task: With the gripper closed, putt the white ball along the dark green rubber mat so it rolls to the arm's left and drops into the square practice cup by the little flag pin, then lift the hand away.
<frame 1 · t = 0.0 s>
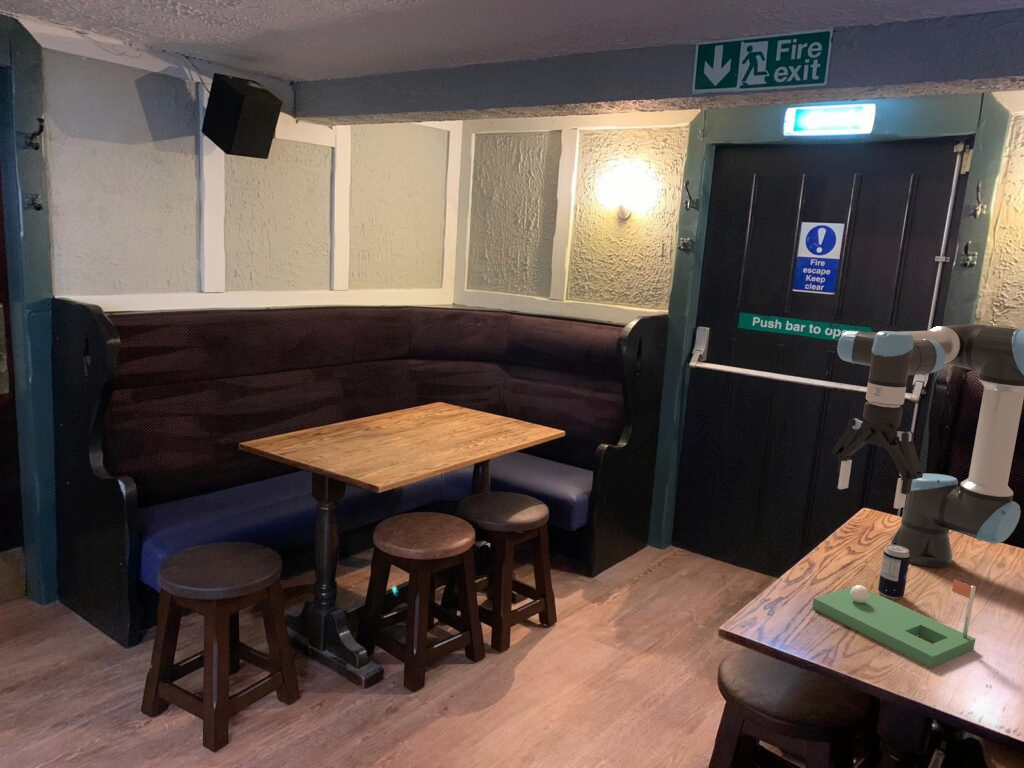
hand: (869, 497, 171), 28 cm above the table, fingers open, 13 cm apart
beverage can: (890, 595, 188), on the table
flag pin: (962, 647, 164), resting on putting mat
putting mat: (889, 628, 171), on the table
ball: (858, 602, 177), point 2 cm above the table, touching putting mat
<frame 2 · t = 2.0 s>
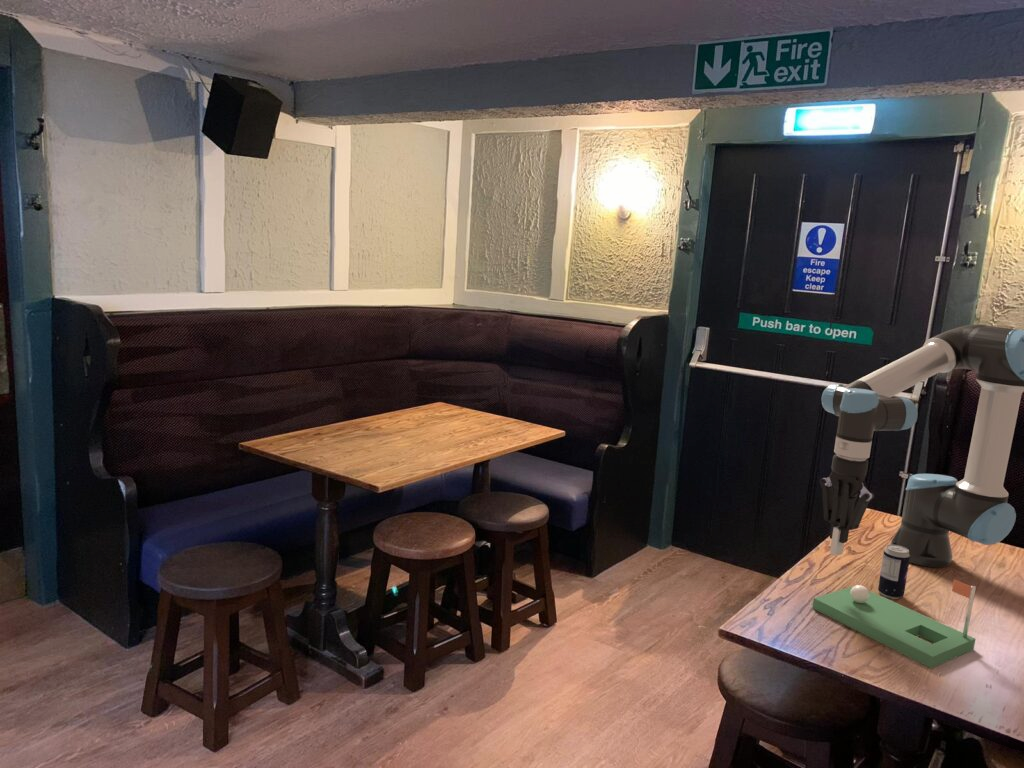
hand: (835, 553, 181), 12 cm above the table, fingers closed
nothing on the table moved.
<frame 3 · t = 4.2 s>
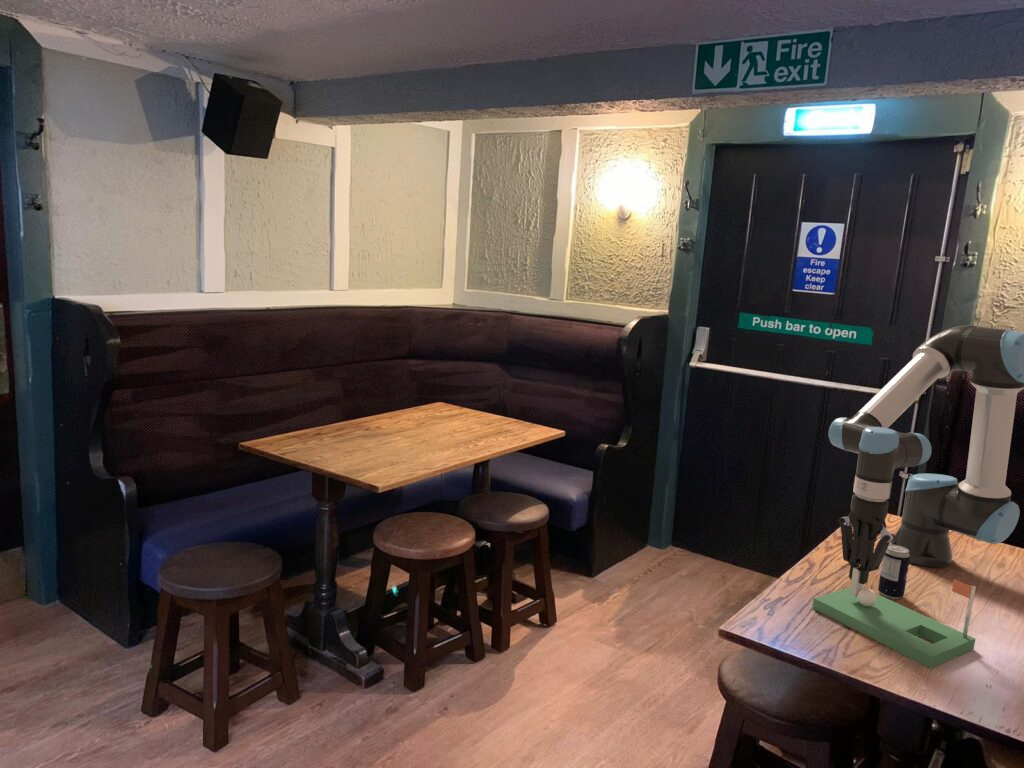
hand: (855, 594, 178), 4 cm above the table, fingers closed
ball: (860, 599, 177), point 3 cm above the table, tilted 52°, touching gripper, putting mat
everything else where it was.
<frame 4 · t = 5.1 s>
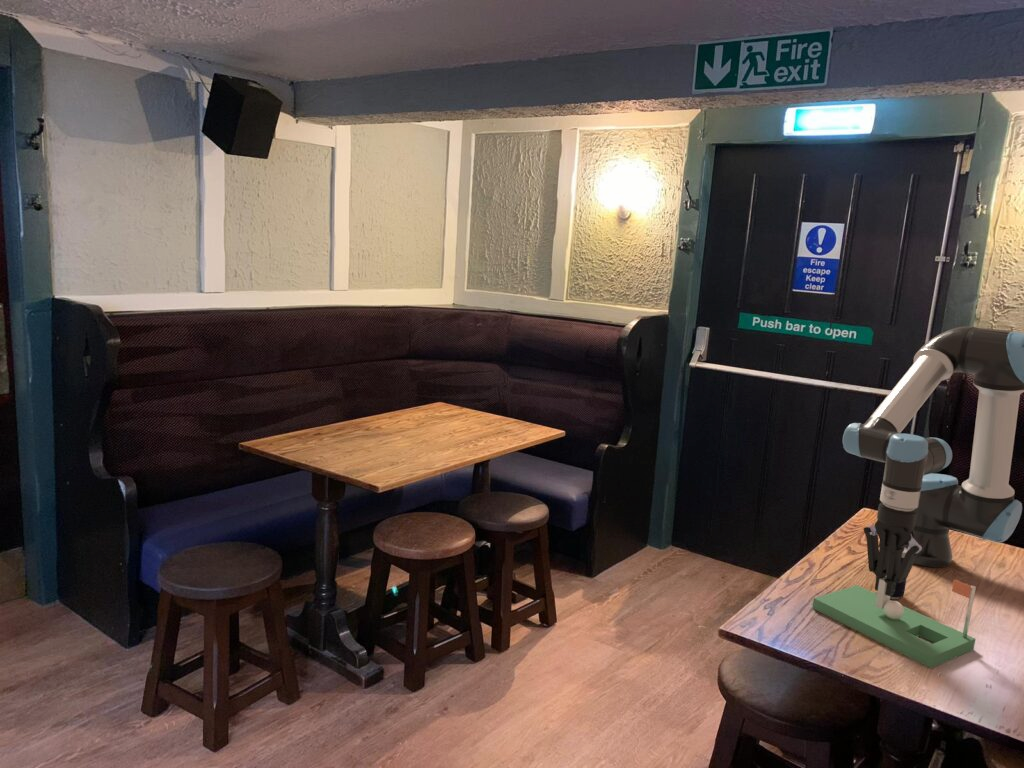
hand: (881, 606, 172), 4 cm above the table, fingers closed
ball: (899, 604, 169), point 6 cm above the table, tilted 148°, touching gripper, putting mat
everything else where it was.
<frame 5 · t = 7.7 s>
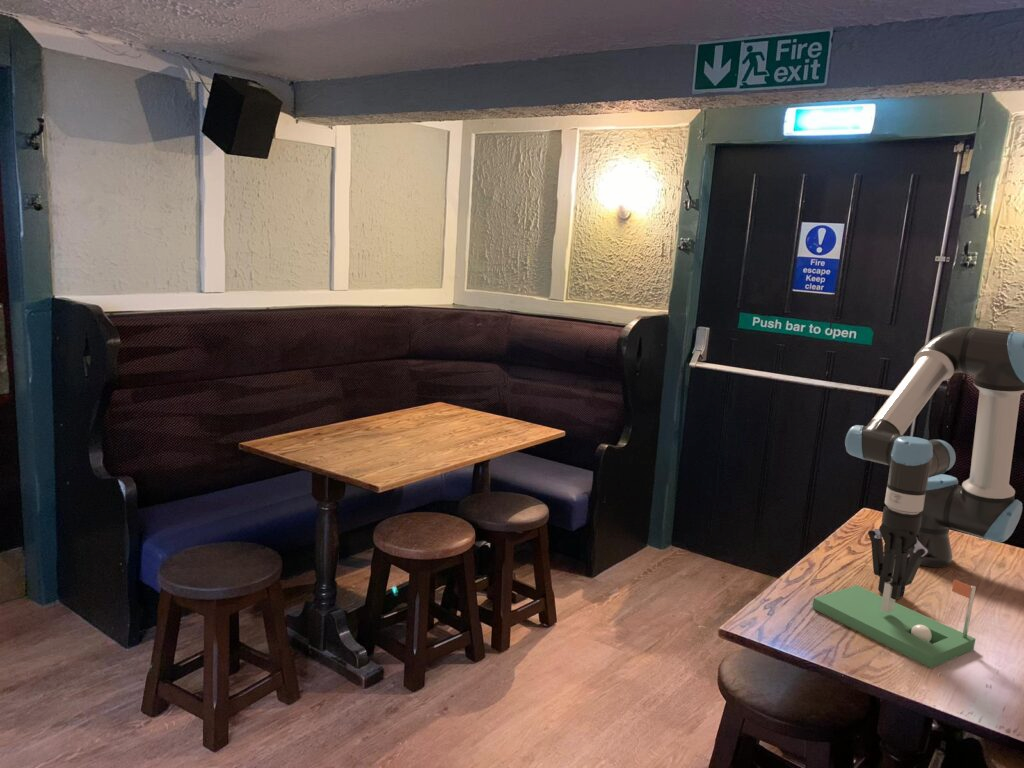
hand: (887, 609, 172), 4 cm above the table, fingers closed
ball: (912, 635, 167), point 1 cm above the table, tilted 58°
everything else where it was.
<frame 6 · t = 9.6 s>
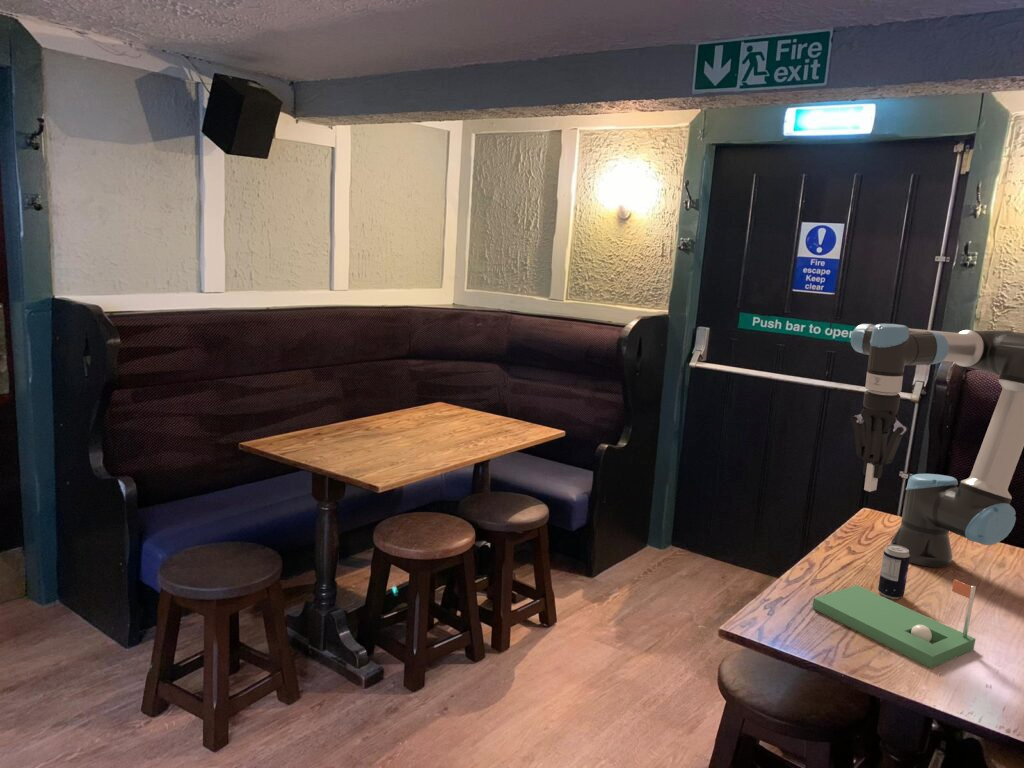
hand: (870, 489, 183), 26 cm above the table, fingers closed
nothing on the table moved.
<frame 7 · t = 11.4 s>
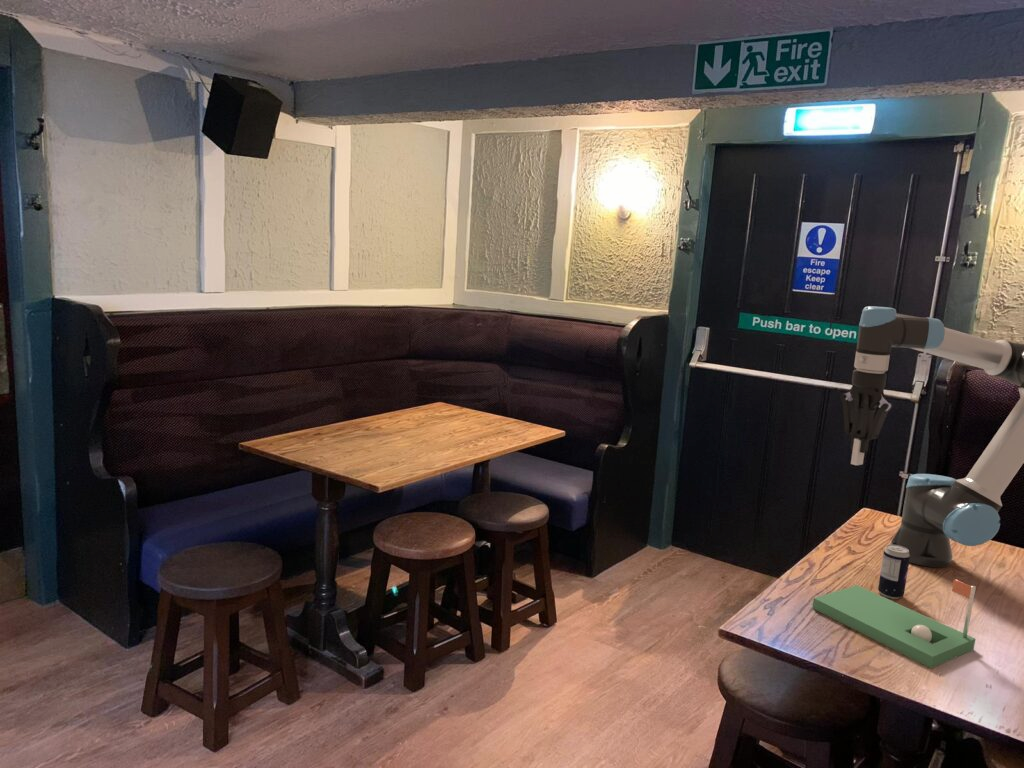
hand: (856, 464, 193), 29 cm above the table, fingers closed
nothing on the table moved.
at the end: ball 2.7 cm from the target spot on the putting mat, point 1.0 cm above the putting mat's base; ball touching table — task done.
